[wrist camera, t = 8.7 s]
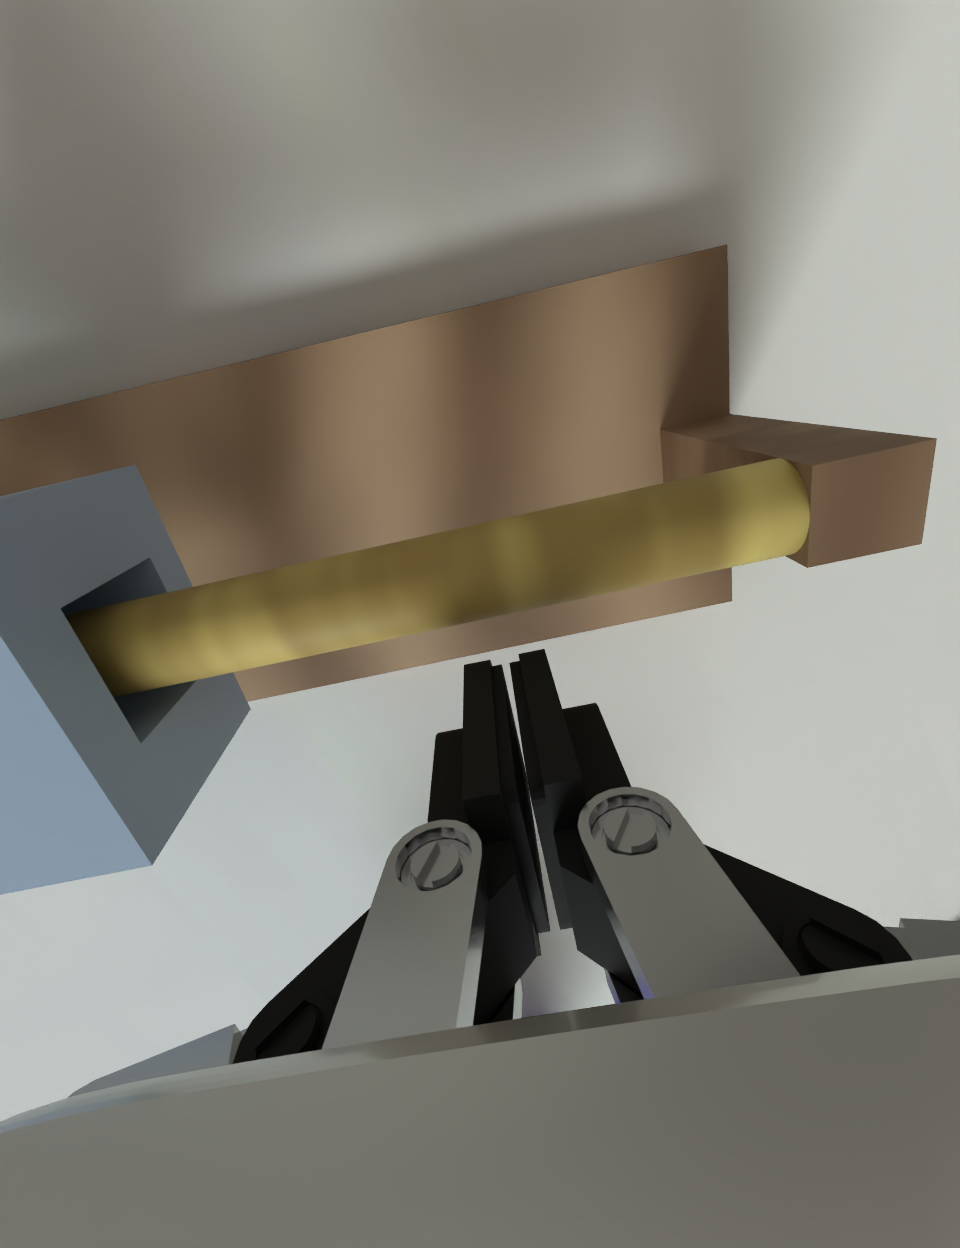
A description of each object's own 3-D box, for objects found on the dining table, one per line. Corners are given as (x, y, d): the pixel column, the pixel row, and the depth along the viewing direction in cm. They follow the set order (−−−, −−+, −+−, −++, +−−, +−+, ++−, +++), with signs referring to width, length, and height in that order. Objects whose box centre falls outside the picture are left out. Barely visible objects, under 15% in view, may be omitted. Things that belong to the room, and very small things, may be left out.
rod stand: (707, 255, 15) (1072, 69, 6) (716, 588, 19) (938, 765, 10) (-162, 464, 16) (-900, 562, 7) (25, 732, 20) (-301, 998, 11)
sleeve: (135, 464, 11) (-77, 518, 7) (250, 709, 14) (152, 865, 10) (-80, 514, 12) (-422, 599, 7) (72, 745, 14) (-106, 914, 10)
